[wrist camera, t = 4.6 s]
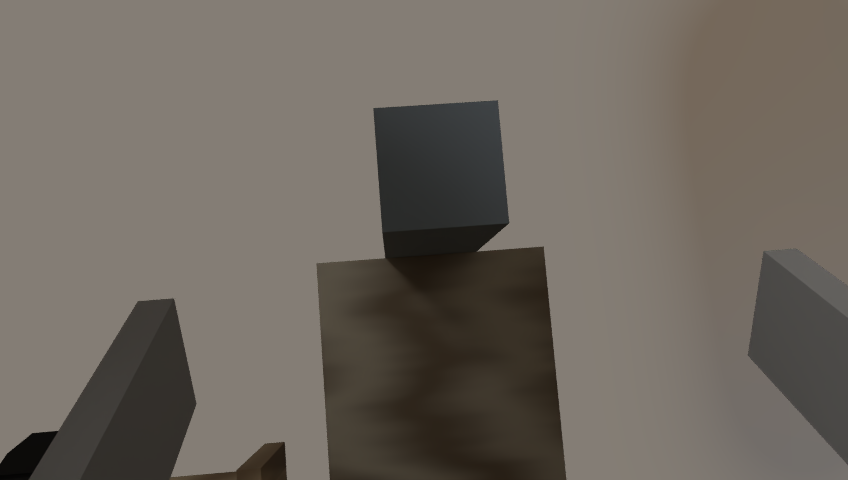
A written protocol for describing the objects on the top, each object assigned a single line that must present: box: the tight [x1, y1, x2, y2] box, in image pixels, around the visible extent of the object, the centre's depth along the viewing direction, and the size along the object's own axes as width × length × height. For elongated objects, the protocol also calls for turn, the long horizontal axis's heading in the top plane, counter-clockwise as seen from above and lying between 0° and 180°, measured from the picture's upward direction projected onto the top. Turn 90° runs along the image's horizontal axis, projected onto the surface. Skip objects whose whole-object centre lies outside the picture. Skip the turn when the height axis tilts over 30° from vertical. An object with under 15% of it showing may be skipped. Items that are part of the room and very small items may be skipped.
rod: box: [374, 101, 509, 258], centre depth 35 cm, size 4×24×4 cm, turn 3°
